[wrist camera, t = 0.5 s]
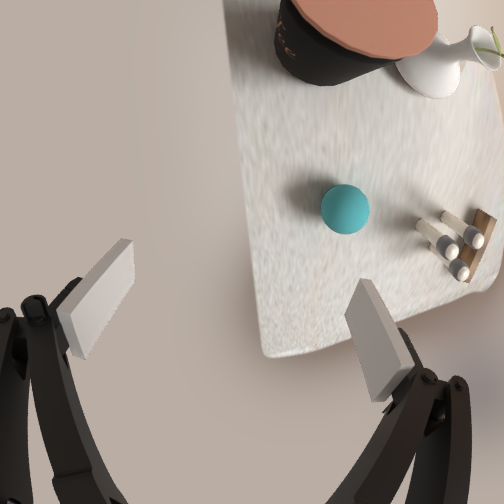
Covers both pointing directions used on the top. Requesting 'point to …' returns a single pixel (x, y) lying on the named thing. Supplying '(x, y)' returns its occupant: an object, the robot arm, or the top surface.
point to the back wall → (474, 255)
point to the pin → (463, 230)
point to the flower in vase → (449, 62)
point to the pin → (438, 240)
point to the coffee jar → (350, 36)
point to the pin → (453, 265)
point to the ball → (345, 209)
